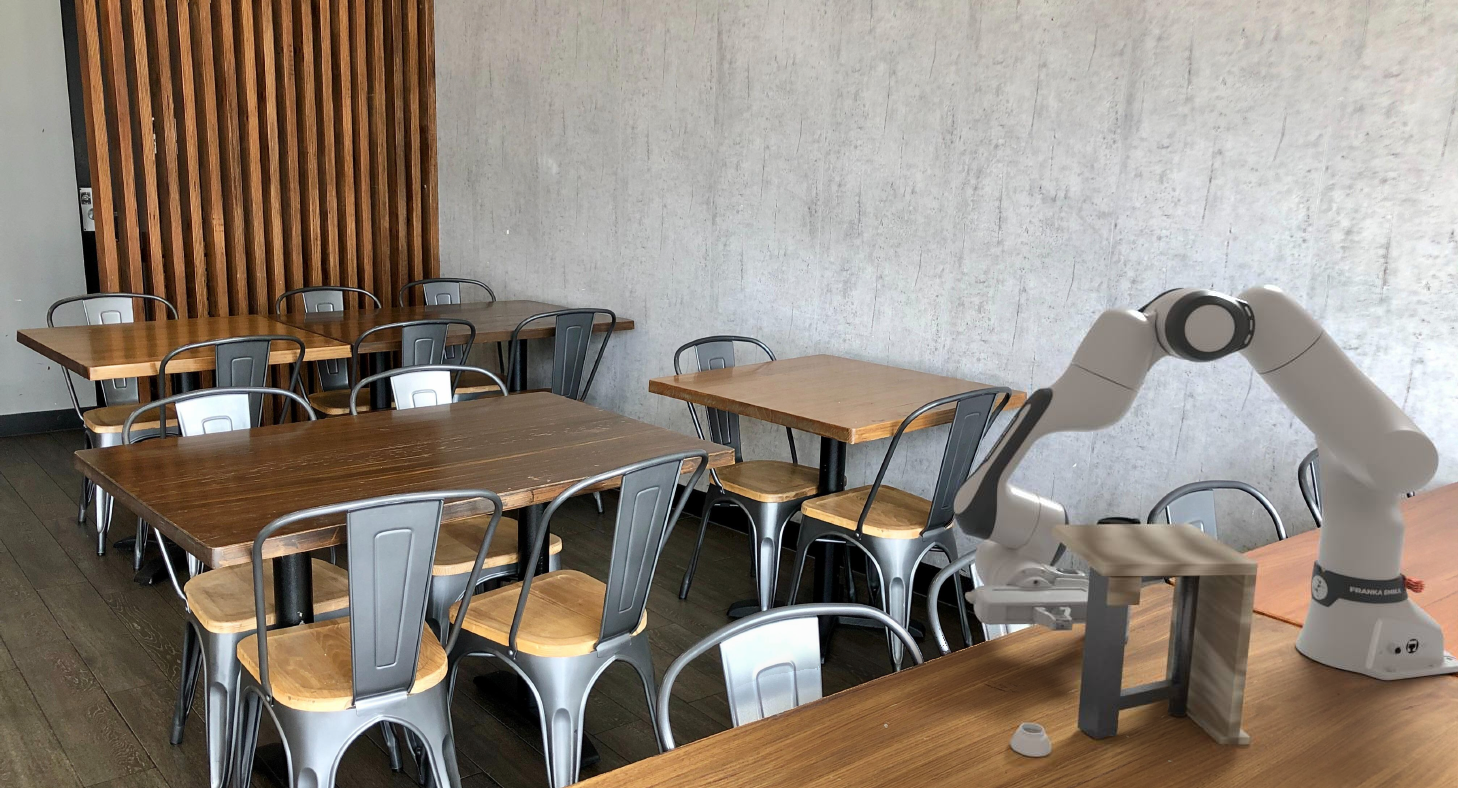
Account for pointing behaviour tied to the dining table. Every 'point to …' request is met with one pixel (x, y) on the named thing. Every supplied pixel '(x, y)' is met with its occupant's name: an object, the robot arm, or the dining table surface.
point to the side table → (1218, 606)
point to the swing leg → (1107, 655)
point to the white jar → (1031, 740)
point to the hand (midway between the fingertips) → (1062, 625)
